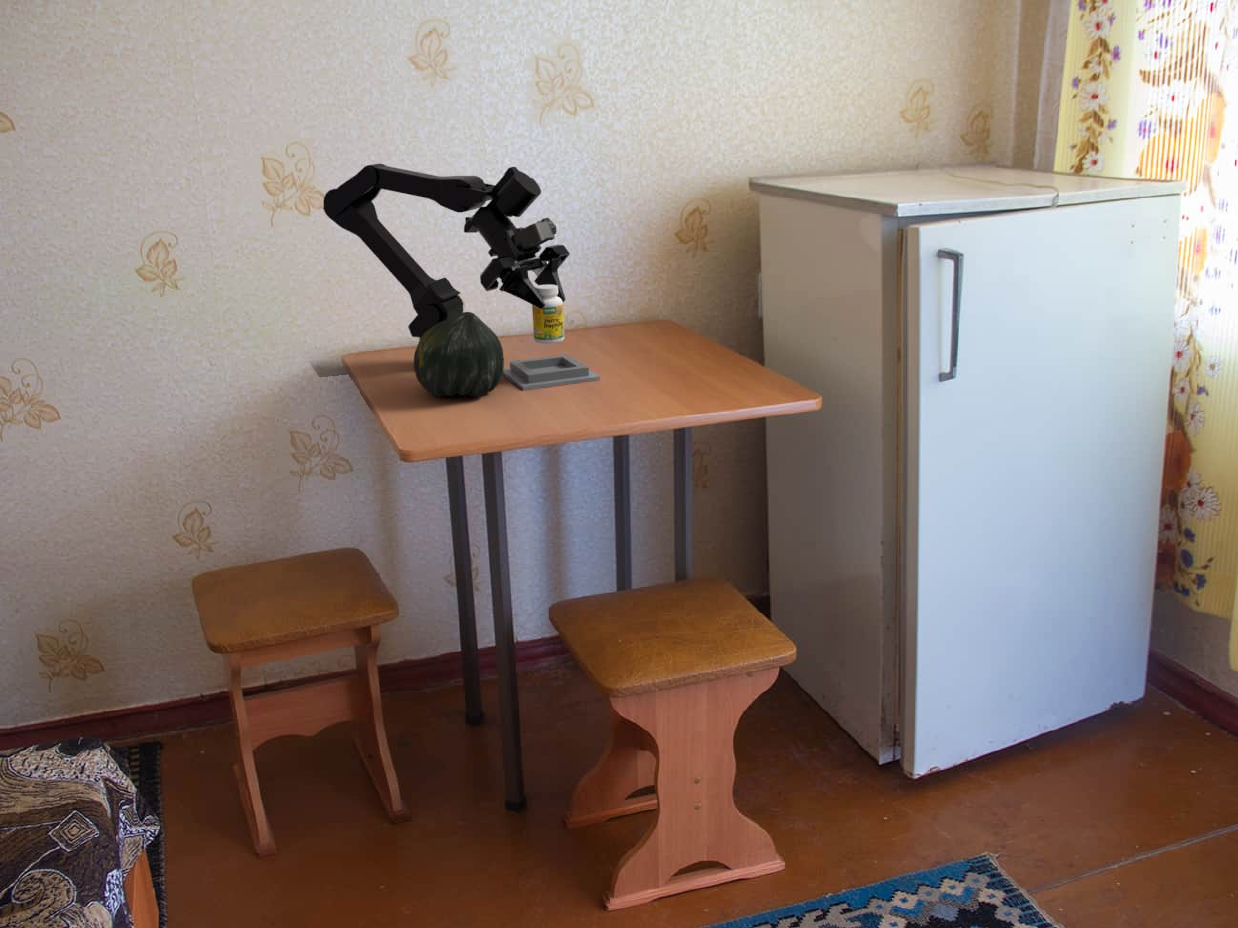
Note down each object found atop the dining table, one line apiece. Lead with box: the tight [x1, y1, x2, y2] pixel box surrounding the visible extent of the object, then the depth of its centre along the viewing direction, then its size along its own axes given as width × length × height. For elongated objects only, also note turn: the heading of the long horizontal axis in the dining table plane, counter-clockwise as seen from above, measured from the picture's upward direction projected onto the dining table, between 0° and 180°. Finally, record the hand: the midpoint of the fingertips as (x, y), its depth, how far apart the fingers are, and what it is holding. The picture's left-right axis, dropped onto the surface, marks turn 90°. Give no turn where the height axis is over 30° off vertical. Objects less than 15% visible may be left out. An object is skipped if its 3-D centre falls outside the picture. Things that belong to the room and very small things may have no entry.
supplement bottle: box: [531, 285, 565, 345], centre depth 202 cm, size 5×5×10 cm
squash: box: [413, 311, 505, 398], centre depth 195 cm, size 14×15×15 cm
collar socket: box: [502, 354, 601, 391], centre depth 206 cm, size 14×14×2 cm
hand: (553, 304), depth 201 cm, fingers closed on supplement bottle, 5 cm apart
